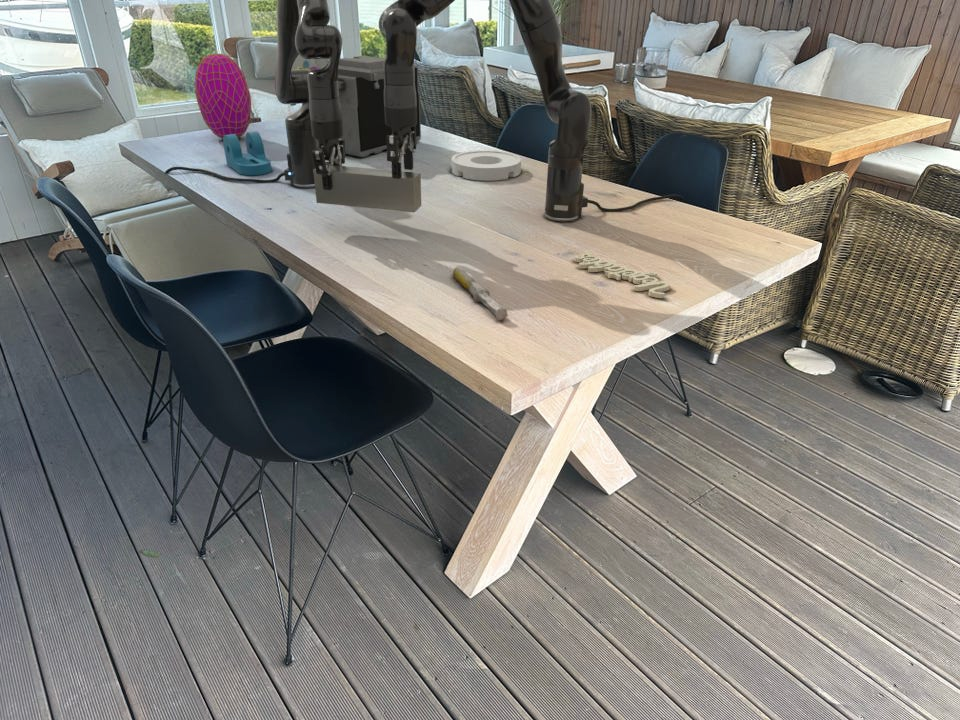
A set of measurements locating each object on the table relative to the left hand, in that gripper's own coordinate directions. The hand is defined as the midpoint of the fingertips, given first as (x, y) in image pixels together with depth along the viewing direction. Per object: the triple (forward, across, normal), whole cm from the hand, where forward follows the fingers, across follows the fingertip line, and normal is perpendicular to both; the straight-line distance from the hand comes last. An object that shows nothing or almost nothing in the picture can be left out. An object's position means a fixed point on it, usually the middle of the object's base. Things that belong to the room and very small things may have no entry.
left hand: (332, 185), depth 174 cm
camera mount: (+12, -46, -52) cm, 70 cm away
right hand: (-5, 0, +19) cm, 20 cm away
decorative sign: (+11, +11, +75) cm, 77 cm away
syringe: (+11, +30, +46) cm, 56 cm away
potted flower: (+12, -118, -65) cm, 136 cm away
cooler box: (+12, -87, -25) cm, 92 cm away
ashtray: (+12, -65, +24) cm, 71 cm away
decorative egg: (+12, -82, -82) cm, 117 cm away
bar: (+4, 0, +10) cm, 10 cm away
